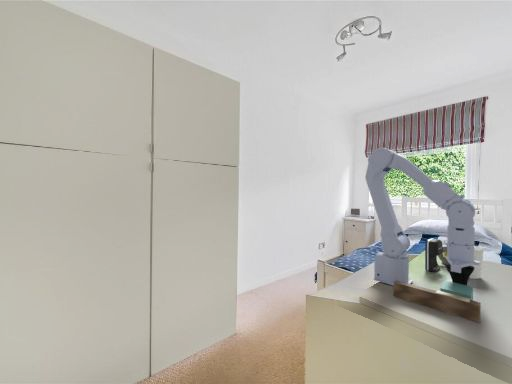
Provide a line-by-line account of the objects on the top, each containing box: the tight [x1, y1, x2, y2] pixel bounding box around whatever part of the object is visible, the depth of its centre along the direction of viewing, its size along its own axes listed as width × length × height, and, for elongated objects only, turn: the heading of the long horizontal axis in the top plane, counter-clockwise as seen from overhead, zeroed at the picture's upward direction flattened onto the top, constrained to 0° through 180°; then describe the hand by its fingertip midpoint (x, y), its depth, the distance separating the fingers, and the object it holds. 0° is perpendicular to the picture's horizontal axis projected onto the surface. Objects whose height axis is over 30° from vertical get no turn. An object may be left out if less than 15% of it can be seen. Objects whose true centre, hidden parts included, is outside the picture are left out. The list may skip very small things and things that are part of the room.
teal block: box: [439, 280, 474, 301], centre depth 63 cm, size 6×7×4 cm
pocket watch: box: [437, 240, 449, 265], centre depth 92 cm, size 8×8×10 cm
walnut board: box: [393, 280, 482, 323], centre depth 62 cm, size 18×2×4 cm, turn 42°
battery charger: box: [424, 238, 444, 273], centre depth 87 cm, size 7×4×11 cm, turn 127°
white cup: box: [469, 245, 484, 280], centre depth 82 cm, size 8×8×10 cm
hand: (459, 291), depth 66 cm, fingers closed
